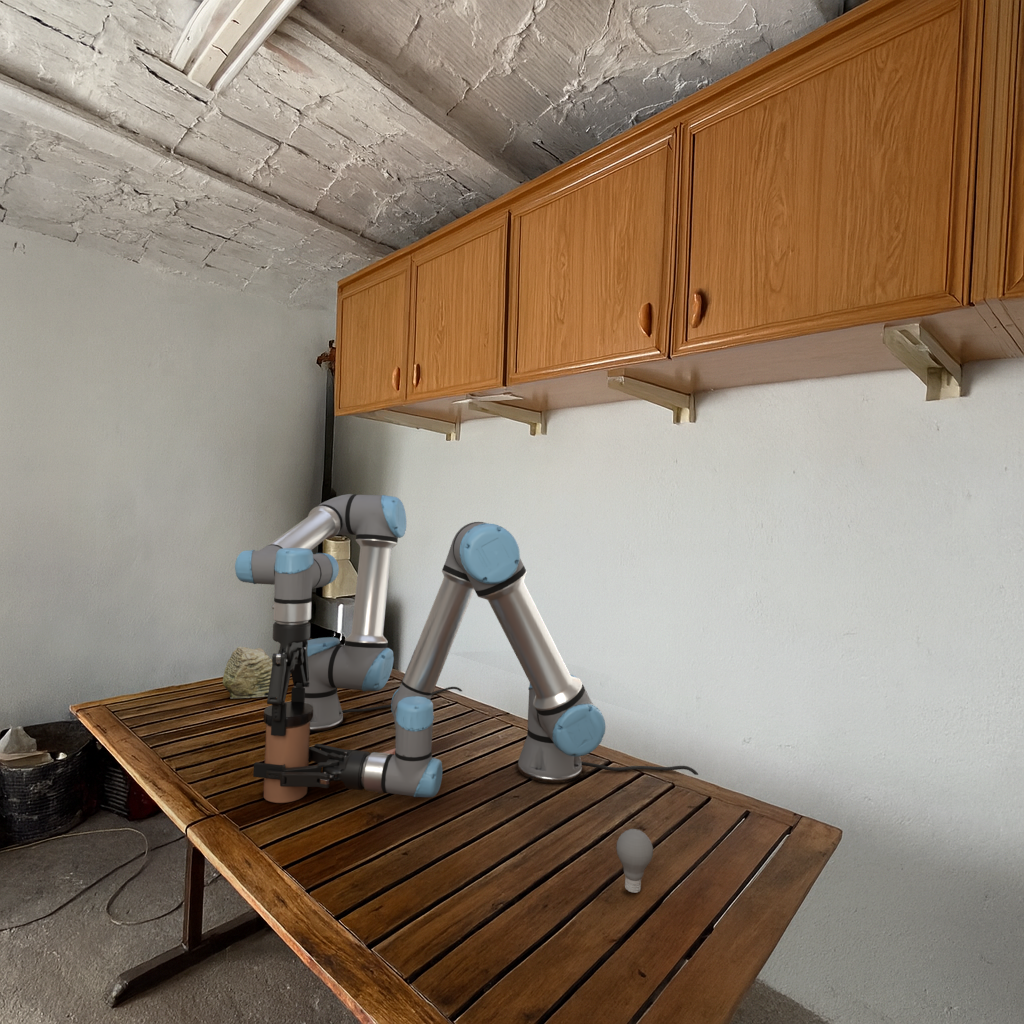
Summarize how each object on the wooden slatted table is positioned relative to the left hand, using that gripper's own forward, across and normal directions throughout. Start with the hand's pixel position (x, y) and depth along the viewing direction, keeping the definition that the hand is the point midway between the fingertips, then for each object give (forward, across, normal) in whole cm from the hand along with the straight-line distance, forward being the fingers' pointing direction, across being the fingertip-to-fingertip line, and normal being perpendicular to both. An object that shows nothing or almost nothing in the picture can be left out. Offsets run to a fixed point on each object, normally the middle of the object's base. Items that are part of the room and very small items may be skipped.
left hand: (288, 725), depth 134 cm
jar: (+14, 0, 0) cm, 14 cm away
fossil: (+14, -62, -34) cm, 73 cm away
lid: (-3, 0, 0) cm, 3 cm away
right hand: (+8, 0, -4) cm, 9 cm away
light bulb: (+14, +27, +69) cm, 76 cm away
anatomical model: (+14, -18, +19) cm, 29 cm away
